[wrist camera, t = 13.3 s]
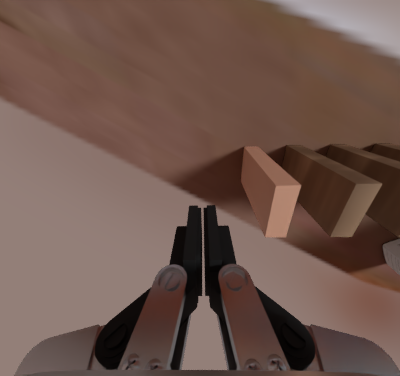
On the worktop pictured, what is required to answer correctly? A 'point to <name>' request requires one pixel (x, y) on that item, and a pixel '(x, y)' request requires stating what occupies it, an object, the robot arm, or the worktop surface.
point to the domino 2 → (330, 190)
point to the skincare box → (392, 254)
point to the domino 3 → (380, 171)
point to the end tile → (269, 191)
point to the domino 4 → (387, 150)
